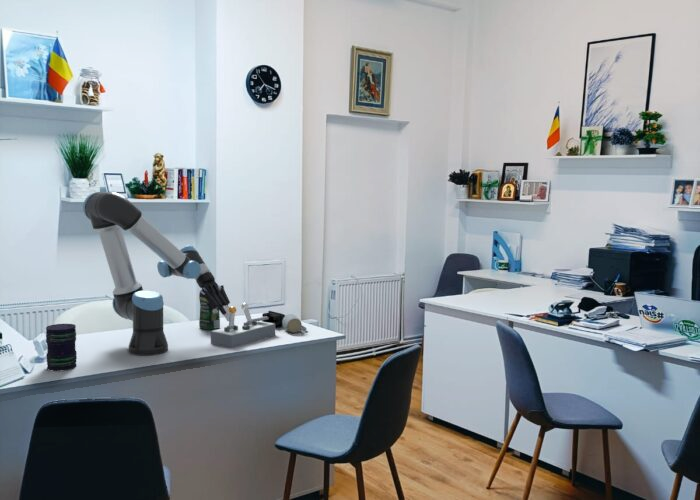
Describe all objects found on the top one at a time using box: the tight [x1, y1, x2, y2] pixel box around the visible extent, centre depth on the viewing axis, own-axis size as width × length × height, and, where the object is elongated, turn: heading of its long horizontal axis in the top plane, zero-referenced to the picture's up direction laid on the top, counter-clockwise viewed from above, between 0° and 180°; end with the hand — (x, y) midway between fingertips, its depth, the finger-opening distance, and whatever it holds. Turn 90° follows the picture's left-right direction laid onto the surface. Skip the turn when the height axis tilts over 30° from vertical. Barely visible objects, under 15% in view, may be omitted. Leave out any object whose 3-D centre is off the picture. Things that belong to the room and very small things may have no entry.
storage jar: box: [45, 323, 78, 372], centre depth 223 cm, size 10×10×15 cm
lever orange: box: [226, 306, 237, 330], centre depth 263 cm, size 3×4×10 cm
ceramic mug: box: [282, 313, 308, 334], centre depth 287 cm, size 11×8×8 cm
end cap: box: [261, 310, 286, 329], centre depth 298 cm, size 10×7×7 cm
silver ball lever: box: [240, 302, 255, 325], centre depth 274 cm, size 3×4×10 cm
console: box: [210, 321, 276, 348], centre depth 271 cm, size 12×28×7 cm, turn 147°
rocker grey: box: [251, 316, 269, 321], centre depth 279 cm, size 6×4×1 cm
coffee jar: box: [198, 293, 221, 331], centre depth 290 cm, size 10×8×19 cm
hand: (231, 319), depth 265 cm, fingers closed
